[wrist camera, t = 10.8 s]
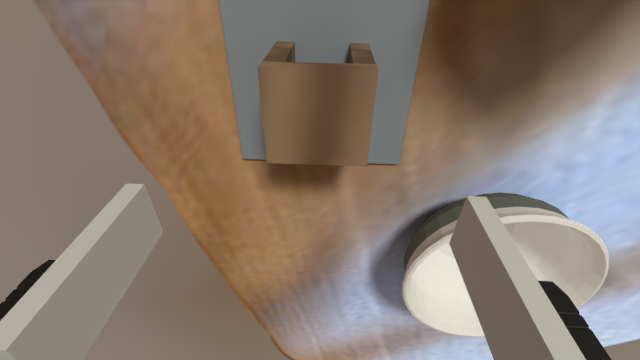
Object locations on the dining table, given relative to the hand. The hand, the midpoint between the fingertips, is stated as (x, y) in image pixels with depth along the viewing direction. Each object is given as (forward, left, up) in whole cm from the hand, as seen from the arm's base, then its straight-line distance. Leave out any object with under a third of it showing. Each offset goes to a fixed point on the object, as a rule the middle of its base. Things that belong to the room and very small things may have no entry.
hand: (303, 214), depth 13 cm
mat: (0, 0, -18) cm, 18 cm away
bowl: (+17, +18, -18) cm, 31 cm away
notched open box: (0, 0, -17) cm, 17 cm away
